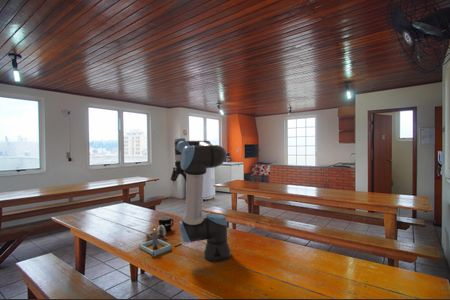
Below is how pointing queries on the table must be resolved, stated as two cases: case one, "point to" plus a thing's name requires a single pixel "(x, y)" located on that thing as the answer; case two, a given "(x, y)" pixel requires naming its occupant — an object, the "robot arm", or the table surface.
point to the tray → (158, 251)
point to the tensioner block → (161, 233)
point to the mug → (166, 222)
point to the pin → (155, 238)
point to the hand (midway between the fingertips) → (181, 191)
